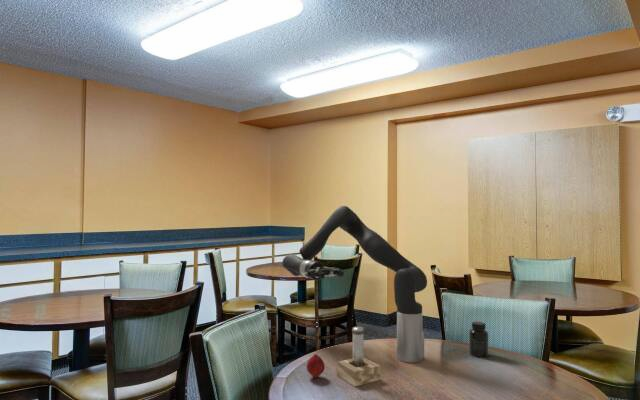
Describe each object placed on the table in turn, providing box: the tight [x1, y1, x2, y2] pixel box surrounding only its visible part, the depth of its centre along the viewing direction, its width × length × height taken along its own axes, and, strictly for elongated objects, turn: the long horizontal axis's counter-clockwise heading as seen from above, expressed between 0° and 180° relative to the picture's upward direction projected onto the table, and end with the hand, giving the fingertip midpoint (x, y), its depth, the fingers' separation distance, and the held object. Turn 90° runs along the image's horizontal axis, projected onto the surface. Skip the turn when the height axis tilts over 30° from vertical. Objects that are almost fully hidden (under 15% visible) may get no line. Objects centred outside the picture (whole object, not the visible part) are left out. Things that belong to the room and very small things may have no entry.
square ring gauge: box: [336, 357, 381, 387], centre depth 135 cm, size 10×10×4 cm
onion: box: [306, 352, 325, 379], centre depth 135 cm, size 6×6×8 cm
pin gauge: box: [351, 326, 365, 368], centre depth 136 cm, size 4×4×15 cm
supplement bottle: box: [468, 321, 489, 358], centre depth 158 cm, size 7×7×12 cm
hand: (333, 274), depth 158 cm, fingers open, 8 cm apart
